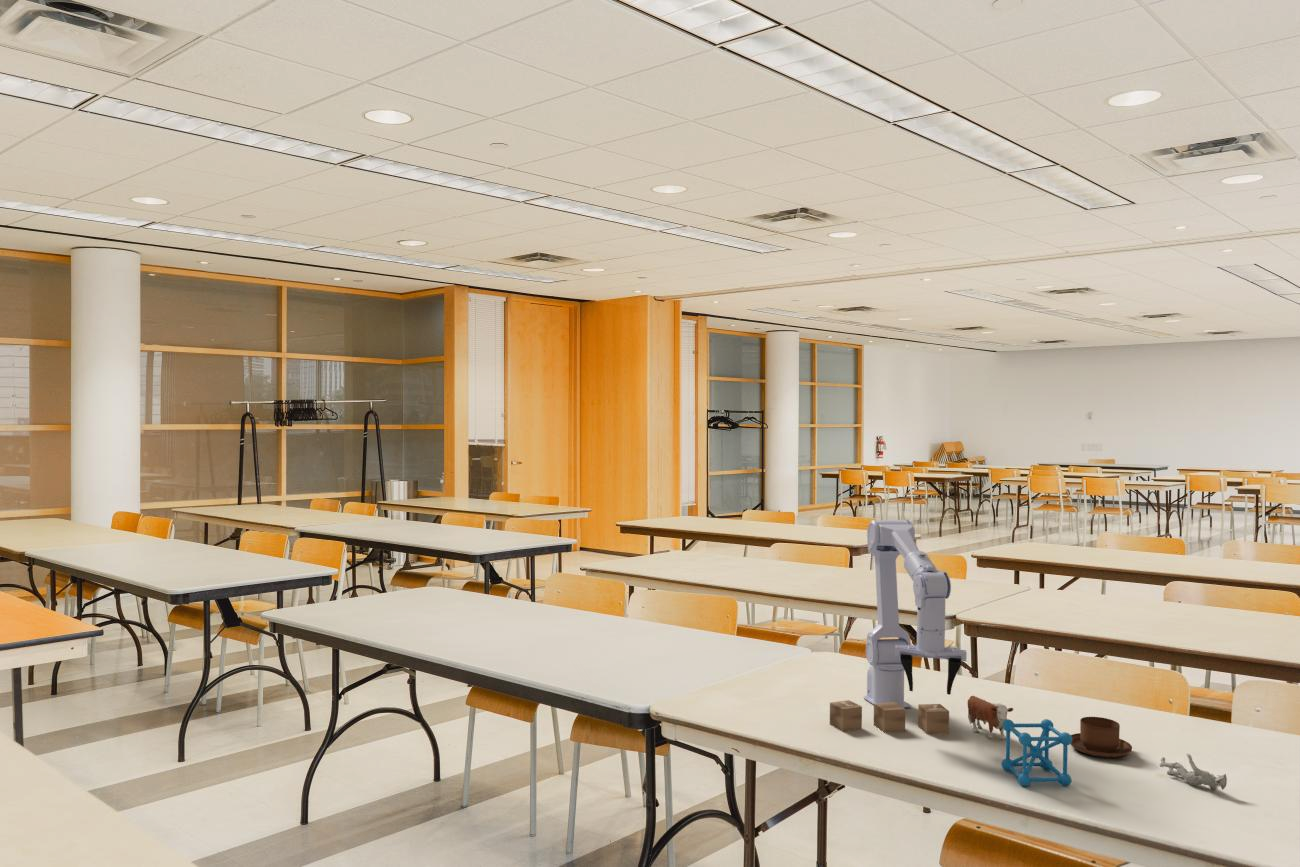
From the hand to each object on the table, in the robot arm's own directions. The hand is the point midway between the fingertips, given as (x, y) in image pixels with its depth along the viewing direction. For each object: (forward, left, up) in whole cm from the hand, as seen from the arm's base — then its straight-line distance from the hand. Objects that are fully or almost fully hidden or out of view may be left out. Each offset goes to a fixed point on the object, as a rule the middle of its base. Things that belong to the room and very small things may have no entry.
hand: (929, 691), depth 203 cm
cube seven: (-5, +4, -10) cm, 12 cm away
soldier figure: (+33, +36, -10) cm, 50 cm away
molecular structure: (+24, +9, -10) cm, 28 cm away
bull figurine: (+1, +14, -10) cm, 17 cm away
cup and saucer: (+14, +31, -10) cm, 35 cm away
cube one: (-11, -14, -10) cm, 21 cm away
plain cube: (-8, -5, -10) cm, 14 cm away
